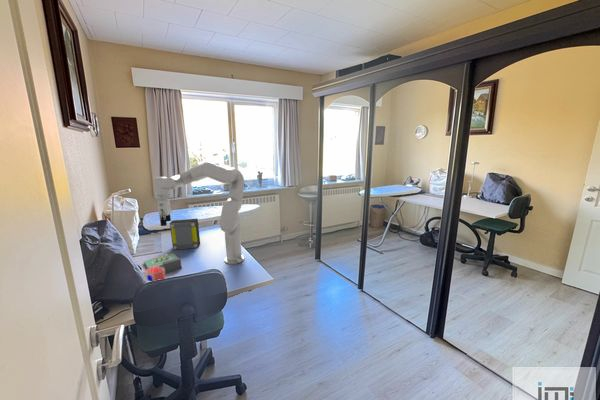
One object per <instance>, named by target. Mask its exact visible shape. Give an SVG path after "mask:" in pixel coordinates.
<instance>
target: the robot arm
mask: <svg viewBox="0 0 600 400" xmlns="http://www.w3.org/2000/svg"><path fill="white" fill-rule="evenodd" d="M206 178H209V179H211V180H215V181H217V182H220V183H222V184H225V185H227V184H230V186H229V191H228V196H227V199H226V201H224V203H223V205H222V208H221V214H220V219H219V227H220V230H221V231H222V232H224V241H225V253H226V256H225V258H224V259H223V261H224V262H225V263H226V264H229V265H236V264H239V263H242V262H243V261H244V260H245V255H243V254H242V241H241V219H240V216H239V211H240V210H241V208H242V204H243V197H244V191H245V179H244V175H243V174H242V172H241V171H240V170H238V168H235V167H228V168H226V167H223V166H220V165H219V163H218V162H217V161H215V160H208V161H205V162H203V163H201V164H198V165H196V166H192V167H191V168H189V169H188V170H186V171H184V172H182V173H179V174H176V175H172V176H169V177H166V176H155V177H154V178H153V185H154V187H153V188H154V194H155V200H156V201H157V211H158V215H159V222H160V226H161V227H165V226H168V225H167V222H171V221H172V220H171V219H172V218H171V213H172V208H171V201H170V197H171V196H170V190H176V189H178V188H180V187H183V186H185V185H188V184H190V183H191V184H192V183H194V182H198V181H201V180H203V179H206Z"/></svg>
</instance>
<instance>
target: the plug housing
mask: <svg viewBox="0 0 600 400" xmlns="http://www.w3.org/2000/svg"><path fill="white" fill-rule="evenodd" d="M177 257H178V256H177ZM163 267H164V269H165V274H167V273H171V272H175V271H177V270H181V269H182V261H181V258H180V257H178V258H175V259H171V260H168V261H165V262H163Z"/></svg>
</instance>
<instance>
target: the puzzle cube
mask: <svg viewBox="0 0 600 400" xmlns="http://www.w3.org/2000/svg"><path fill="white" fill-rule="evenodd" d="M142 274H143V275H144V277H145V278H146V280H147V281H154V280H158V279H164V278H166V279H167V275H166V273H165V269H164V267H159V266H155V265H154V266H152V267H150V268H146V269H144V270H142V271H141V275H142Z"/></svg>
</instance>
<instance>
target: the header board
mask: <svg viewBox="0 0 600 400" xmlns="http://www.w3.org/2000/svg"><path fill="white" fill-rule="evenodd" d="M175 258H178V256H177V255H176V254H175V253H173V252H172V253H169V254H168V253H165V255H163V254H162V255H160V256H159V257H158V256H155V257H154V258H151V259H146V260H144V261H143V264H144V266H145V265H146V266H145V267H146V269H148V268H150V267H152V266H154V265H155V266H159V267H163V262H165V261H168V260H171V259H175Z"/></svg>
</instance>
